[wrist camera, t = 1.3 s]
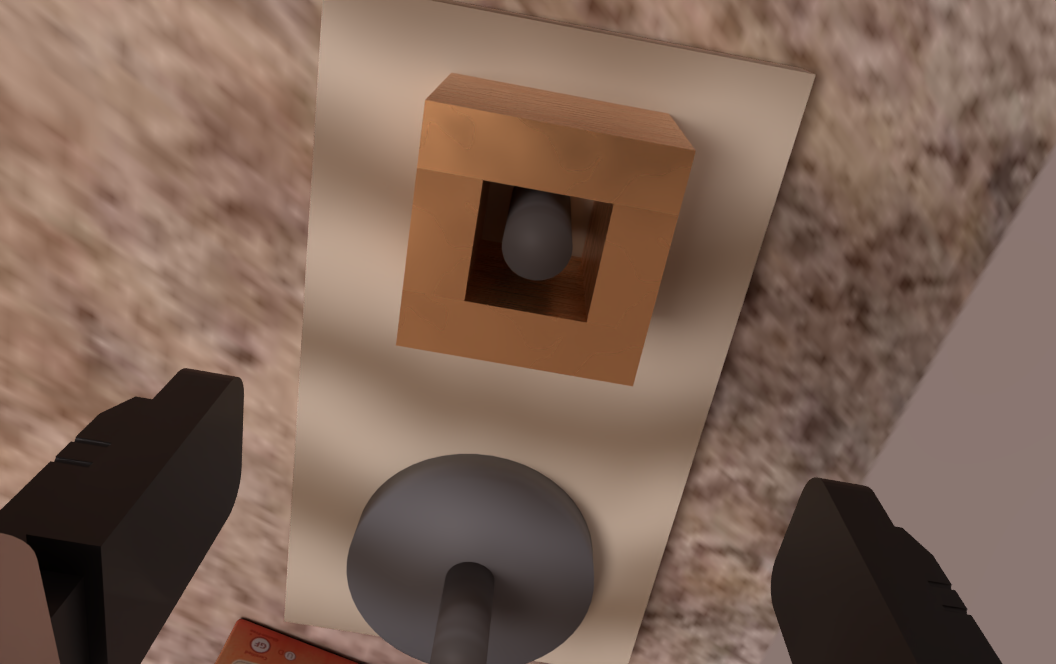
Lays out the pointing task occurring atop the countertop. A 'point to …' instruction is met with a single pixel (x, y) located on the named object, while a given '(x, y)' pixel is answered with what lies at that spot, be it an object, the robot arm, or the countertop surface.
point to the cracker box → (271, 648)
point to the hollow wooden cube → (553, 166)
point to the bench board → (498, 389)
